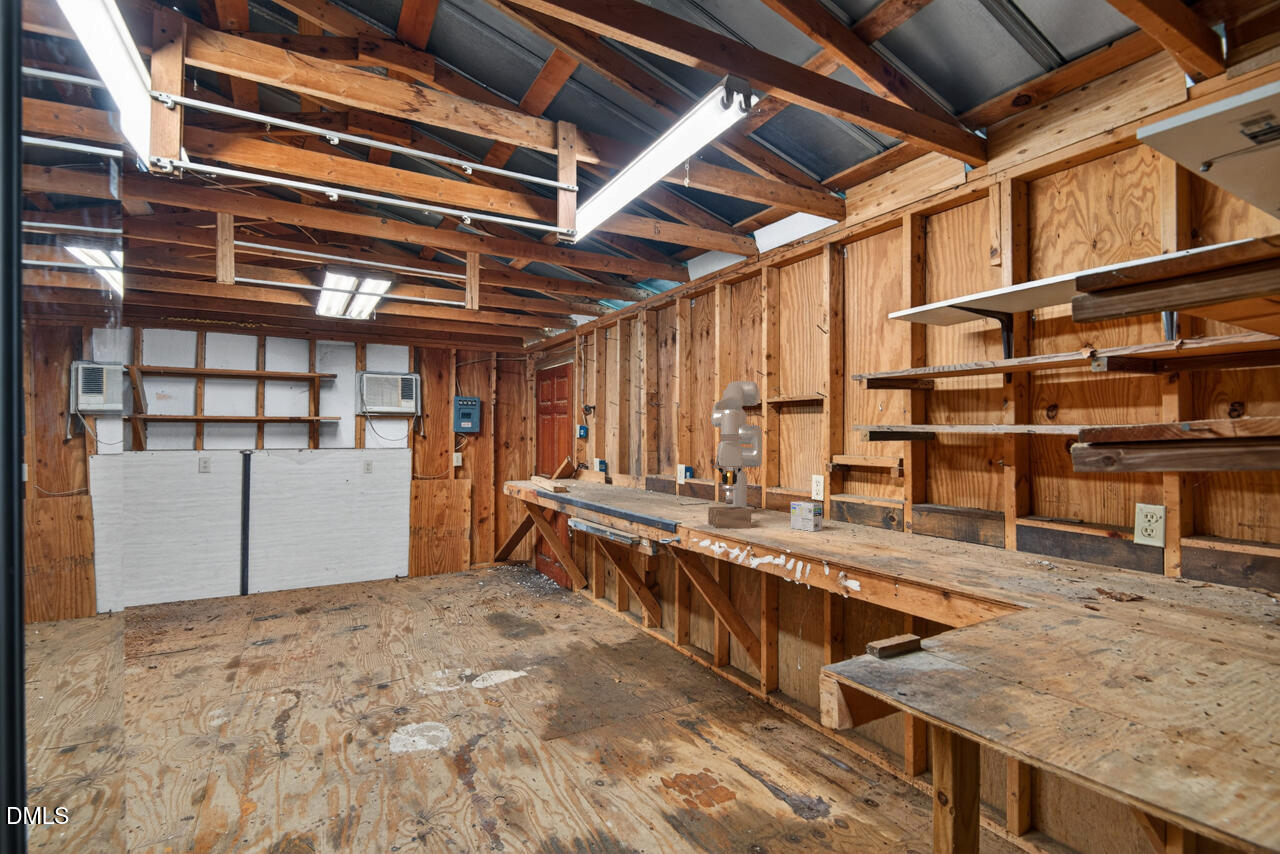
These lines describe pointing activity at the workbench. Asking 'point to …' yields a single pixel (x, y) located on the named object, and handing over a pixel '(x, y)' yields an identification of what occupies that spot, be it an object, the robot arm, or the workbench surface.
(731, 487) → the multicoloured piece
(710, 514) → the block
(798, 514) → the light bulb box
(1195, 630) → the workbench surface
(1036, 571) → the workbench surface
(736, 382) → the robot arm
